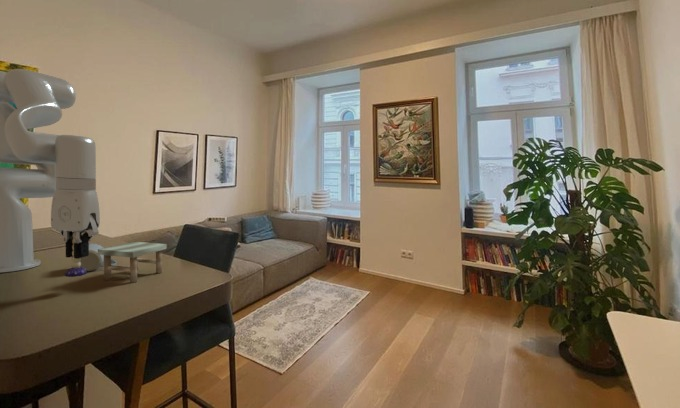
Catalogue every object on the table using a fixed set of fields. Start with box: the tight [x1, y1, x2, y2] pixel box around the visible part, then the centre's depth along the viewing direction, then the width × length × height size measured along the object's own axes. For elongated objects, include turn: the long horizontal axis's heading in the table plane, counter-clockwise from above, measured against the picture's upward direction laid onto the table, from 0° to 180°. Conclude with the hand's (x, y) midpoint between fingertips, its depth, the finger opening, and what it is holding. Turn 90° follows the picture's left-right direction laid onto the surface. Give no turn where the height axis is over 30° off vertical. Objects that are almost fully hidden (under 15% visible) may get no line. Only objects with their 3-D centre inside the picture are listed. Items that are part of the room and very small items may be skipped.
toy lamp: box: [64, 231, 88, 278], centre depth 75 cm, size 5×5×17 cm
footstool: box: [98, 241, 168, 284], centre depth 89 cm, size 12×12×9 cm
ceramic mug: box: [80, 243, 118, 272], centre depth 95 cm, size 11×8×8 cm
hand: (77, 256), depth 76 cm, fingers closed on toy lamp
